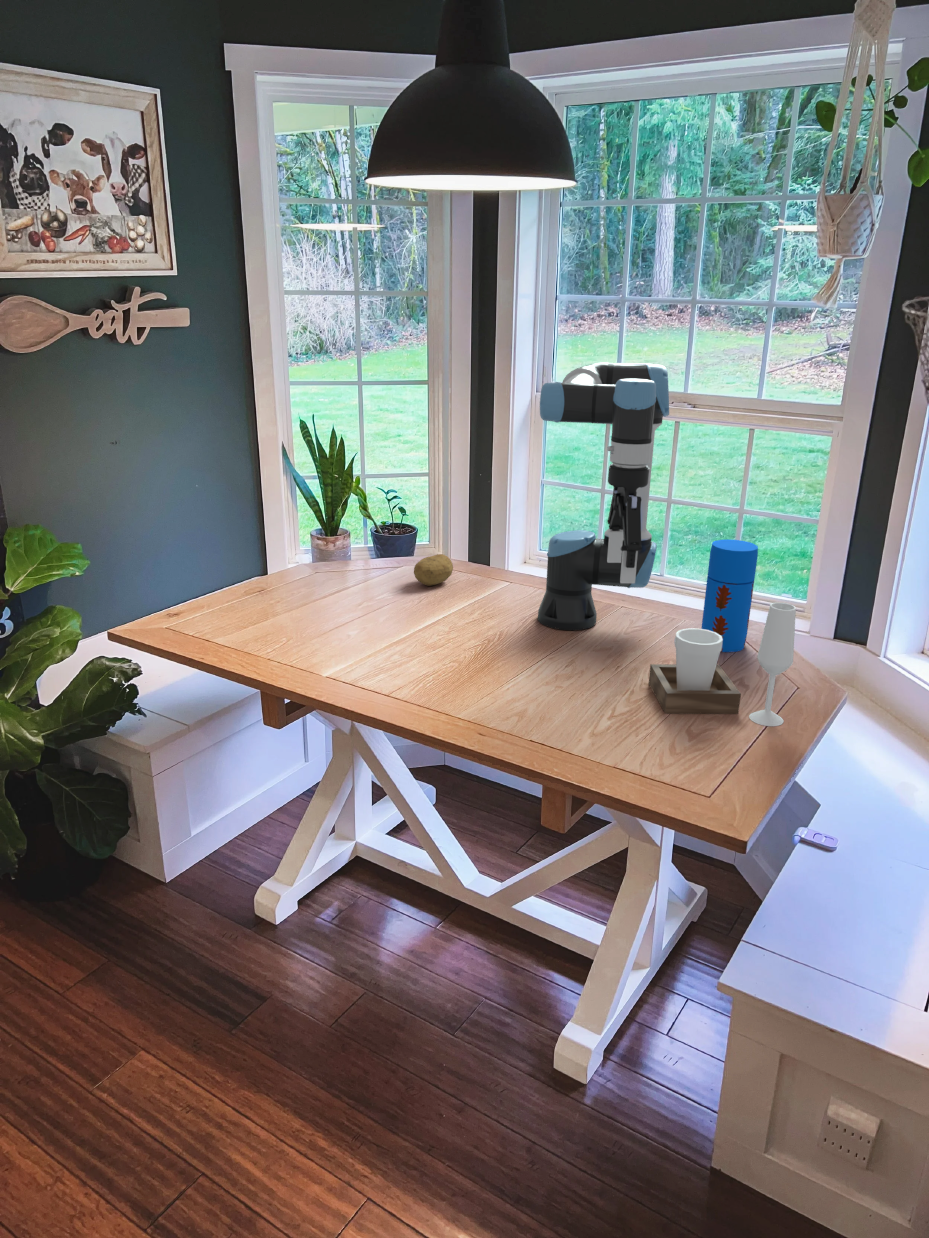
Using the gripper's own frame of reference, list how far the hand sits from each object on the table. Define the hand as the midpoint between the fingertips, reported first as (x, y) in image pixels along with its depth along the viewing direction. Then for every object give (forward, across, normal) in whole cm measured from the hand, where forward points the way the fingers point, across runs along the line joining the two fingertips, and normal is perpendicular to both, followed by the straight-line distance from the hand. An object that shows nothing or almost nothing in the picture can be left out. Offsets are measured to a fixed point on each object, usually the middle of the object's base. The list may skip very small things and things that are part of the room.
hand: (620, 572), depth 175 cm
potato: (+29, -80, -37) cm, 93 cm away
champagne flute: (+29, +7, +30) cm, 42 cm away
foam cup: (+28, -3, +18) cm, 33 cm away
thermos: (+29, -34, +34) cm, 56 cm away
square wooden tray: (+29, -3, +18) cm, 34 cm away
